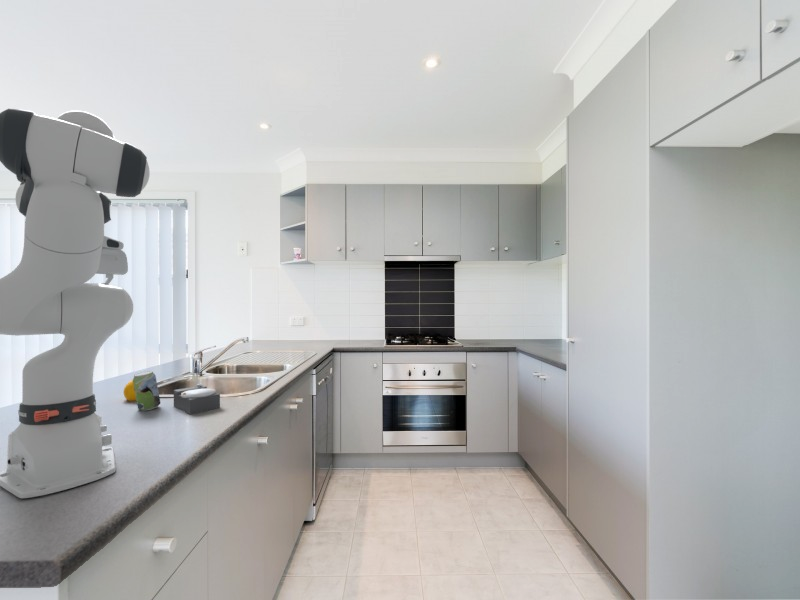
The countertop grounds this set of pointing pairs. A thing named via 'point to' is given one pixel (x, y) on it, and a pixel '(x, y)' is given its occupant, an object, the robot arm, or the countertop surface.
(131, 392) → the apple
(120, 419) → the countertop surface
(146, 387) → the beverage can
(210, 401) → the body block
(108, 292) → the robot arm
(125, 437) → the countertop surface
